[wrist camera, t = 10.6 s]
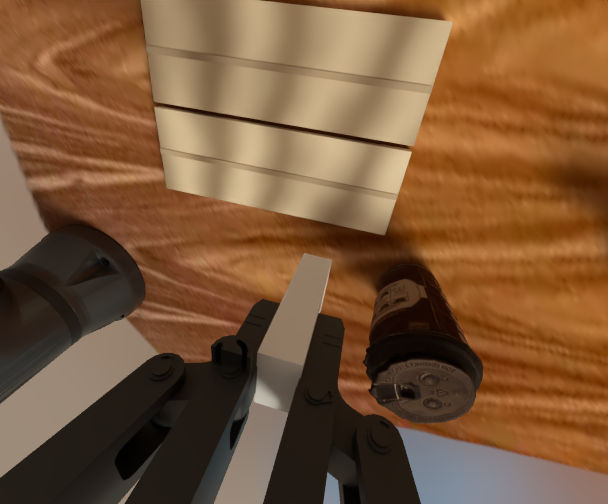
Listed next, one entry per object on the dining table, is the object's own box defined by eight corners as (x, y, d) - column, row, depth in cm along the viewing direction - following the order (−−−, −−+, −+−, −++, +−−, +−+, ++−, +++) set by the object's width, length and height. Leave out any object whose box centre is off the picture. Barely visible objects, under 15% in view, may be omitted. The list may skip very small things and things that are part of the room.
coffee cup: (352, 295, 32) (340, 396, 21) (389, 240, 28) (398, 331, 17) (418, 327, 32) (441, 444, 21) (466, 276, 28) (524, 391, 17)
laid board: (162, 101, 27) (153, 101, 25) (149, -8, 22) (137, -14, 21) (411, 144, 23) (413, 146, 22) (449, 25, 19) (453, 21, 18)
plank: (173, 184, 31) (166, 188, 30) (162, 106, 27) (153, 106, 26) (384, 230, 28) (384, 235, 27) (410, 149, 24) (411, 152, 22)
